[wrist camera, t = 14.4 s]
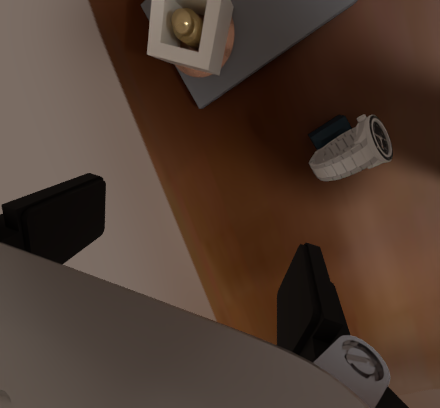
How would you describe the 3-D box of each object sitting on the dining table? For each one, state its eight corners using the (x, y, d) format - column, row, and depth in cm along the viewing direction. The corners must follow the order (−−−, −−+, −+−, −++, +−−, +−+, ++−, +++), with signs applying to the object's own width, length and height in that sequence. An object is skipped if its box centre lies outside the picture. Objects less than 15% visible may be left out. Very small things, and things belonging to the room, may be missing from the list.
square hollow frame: (175, -7, 28) (154, -30, 23) (233, 6, 27) (224, -15, 22) (167, 62, 31) (146, 54, 26) (219, 75, 30) (208, 70, 25)
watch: (373, 141, 31) (419, 159, 21) (315, 174, 34) (331, 202, 24) (353, 104, 30) (391, 104, 20) (295, 141, 33) (303, 157, 23)
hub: (209, -30, 27) (192, -66, 21) (248, 48, 29) (241, 35, 23) (151, 25, 30) (123, 7, 24) (189, 91, 32) (171, 89, 27)
